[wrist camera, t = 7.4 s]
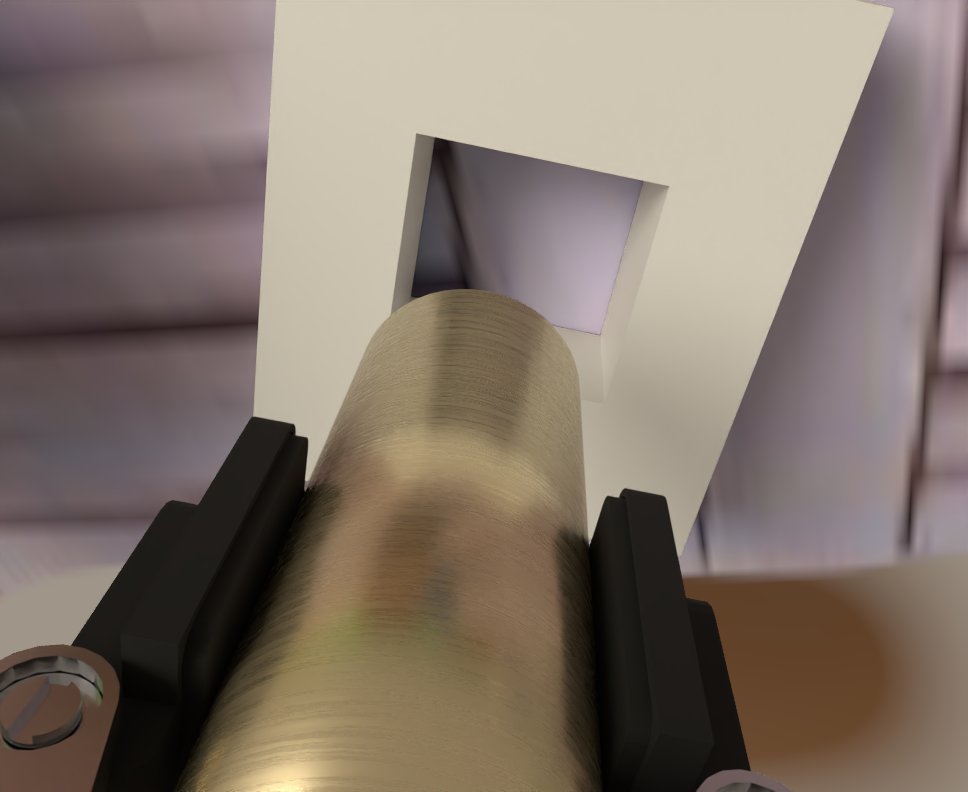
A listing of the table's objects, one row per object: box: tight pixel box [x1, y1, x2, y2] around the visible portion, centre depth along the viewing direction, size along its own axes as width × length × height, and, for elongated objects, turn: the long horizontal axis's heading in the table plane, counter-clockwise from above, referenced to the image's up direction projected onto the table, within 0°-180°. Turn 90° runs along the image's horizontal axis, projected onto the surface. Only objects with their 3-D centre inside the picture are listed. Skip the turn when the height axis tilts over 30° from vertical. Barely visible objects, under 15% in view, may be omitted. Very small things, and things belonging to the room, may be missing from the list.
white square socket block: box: [253, 0, 894, 557], centre depth 22 cm, size 12×14×4 cm
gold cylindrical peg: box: [174, 289, 603, 792], centre depth 10 cm, size 4×4×12 cm
